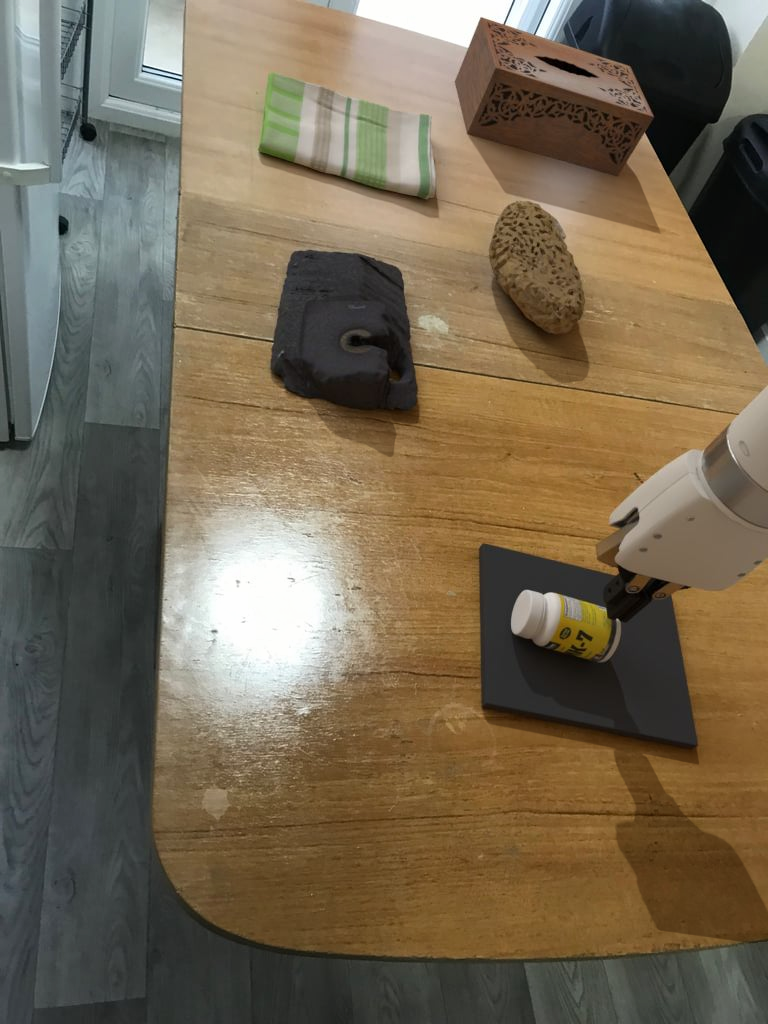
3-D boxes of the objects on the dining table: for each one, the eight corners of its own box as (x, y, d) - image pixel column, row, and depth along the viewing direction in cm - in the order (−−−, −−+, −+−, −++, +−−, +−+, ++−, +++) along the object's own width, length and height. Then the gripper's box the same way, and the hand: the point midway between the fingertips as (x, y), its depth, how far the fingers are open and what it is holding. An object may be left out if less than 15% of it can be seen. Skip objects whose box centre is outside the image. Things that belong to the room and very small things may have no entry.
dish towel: (432, 206, 109) (442, 183, 106) (256, 157, 103) (262, 130, 100) (425, 134, 119) (434, 111, 116) (265, 85, 113) (270, 59, 110)
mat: (664, 593, 83) (670, 588, 82) (691, 749, 73) (698, 745, 73) (478, 548, 79) (482, 542, 78) (481, 708, 69) (486, 703, 68)
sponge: (479, 232, 111) (471, 294, 96) (516, 182, 107) (513, 238, 91) (558, 287, 115) (562, 355, 99) (596, 240, 110) (607, 304, 94)
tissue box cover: (467, 133, 123) (495, 67, 116) (454, 81, 131) (480, 16, 124) (617, 176, 131) (654, 117, 123) (597, 124, 139) (630, 66, 132)
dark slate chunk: (413, 286, 98) (428, 253, 95) (413, 425, 85) (430, 393, 81) (285, 249, 94) (295, 214, 91) (265, 388, 81) (276, 354, 78)
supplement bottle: (597, 673, 73) (509, 650, 72) (591, 630, 76) (507, 606, 75) (626, 643, 70) (534, 618, 68) (619, 599, 73) (531, 574, 72)
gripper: (835, 460, 60) (683, 586, 74) (653, 406, 57) (530, 548, 71) (866, 546, 56) (698, 663, 70) (670, 492, 52) (535, 626, 66)
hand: (614, 605), depth 70 cm, fingers closed
